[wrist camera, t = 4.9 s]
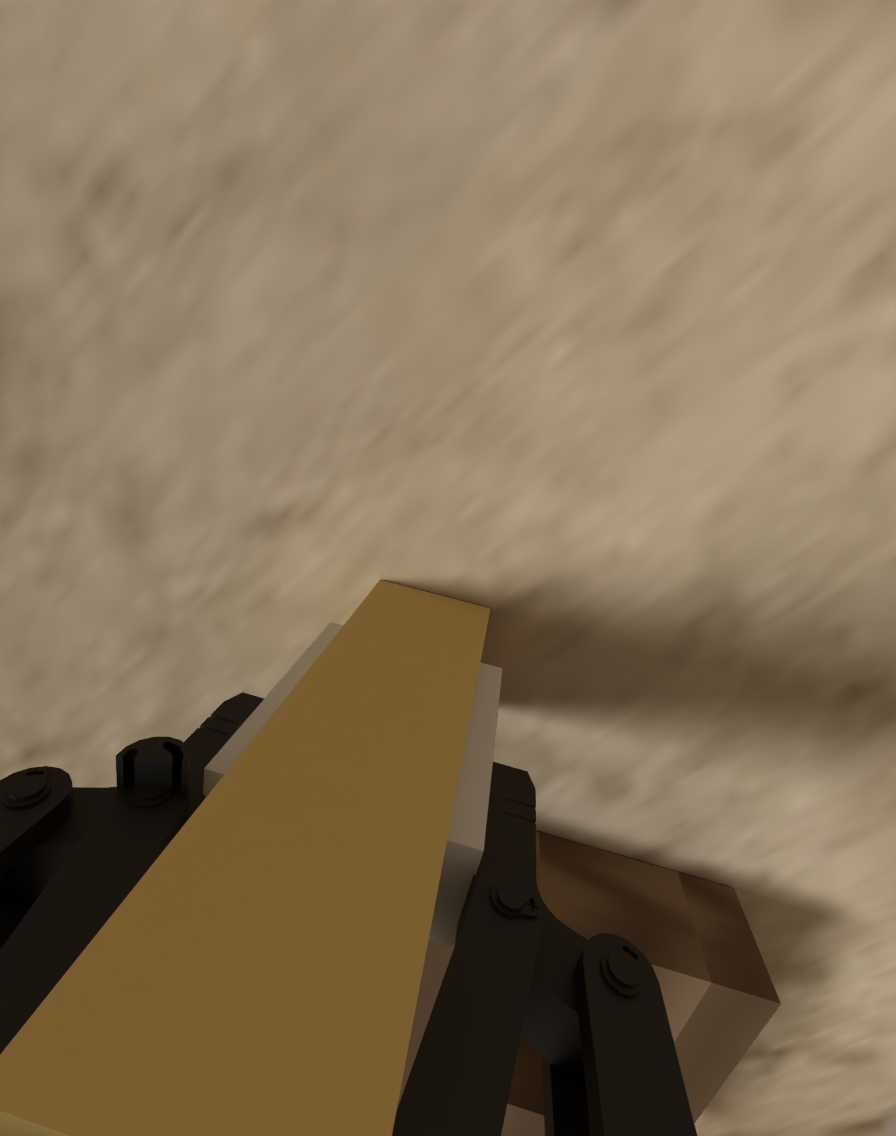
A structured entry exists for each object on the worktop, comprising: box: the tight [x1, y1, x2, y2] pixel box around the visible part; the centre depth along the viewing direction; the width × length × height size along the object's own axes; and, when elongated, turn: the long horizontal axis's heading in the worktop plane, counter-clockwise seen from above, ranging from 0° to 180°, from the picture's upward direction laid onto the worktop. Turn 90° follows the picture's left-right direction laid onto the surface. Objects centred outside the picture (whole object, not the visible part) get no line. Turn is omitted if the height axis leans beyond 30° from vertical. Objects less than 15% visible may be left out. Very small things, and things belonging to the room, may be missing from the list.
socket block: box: [397, 831, 781, 1136], centre depth 21 cm, size 20×14×4 cm
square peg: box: [0, 580, 491, 1136], centre depth 12 cm, size 4×4×14 cm
